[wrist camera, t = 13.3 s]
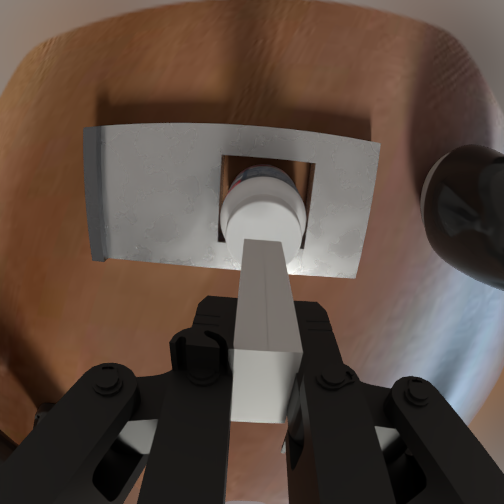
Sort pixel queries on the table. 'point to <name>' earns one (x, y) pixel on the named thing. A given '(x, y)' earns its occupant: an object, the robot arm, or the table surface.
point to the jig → (219, 192)
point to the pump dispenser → (467, 212)
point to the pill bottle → (263, 211)
